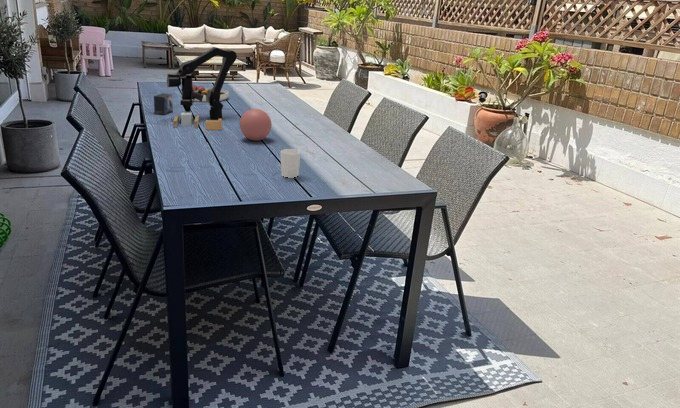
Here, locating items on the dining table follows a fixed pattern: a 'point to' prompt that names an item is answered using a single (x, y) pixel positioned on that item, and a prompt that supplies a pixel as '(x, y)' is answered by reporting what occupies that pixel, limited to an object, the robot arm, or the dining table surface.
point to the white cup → (290, 162)
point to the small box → (163, 104)
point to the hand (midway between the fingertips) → (188, 115)
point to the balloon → (255, 124)
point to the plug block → (186, 118)
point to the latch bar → (214, 125)
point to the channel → (176, 121)
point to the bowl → (223, 93)
